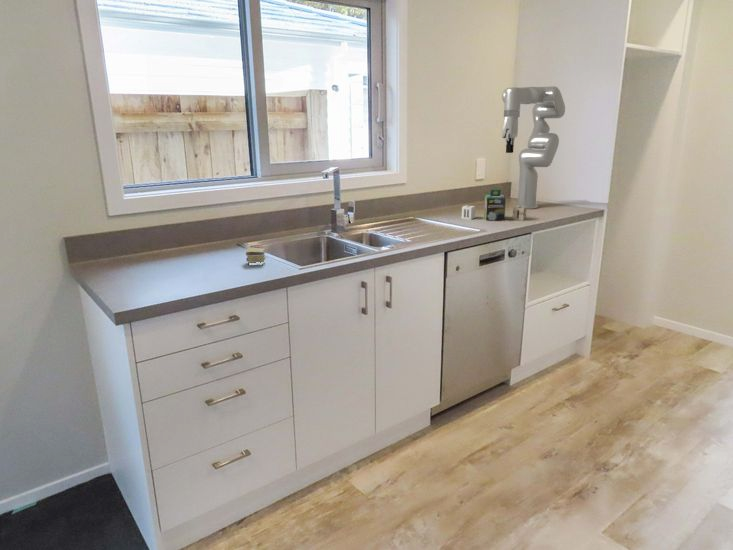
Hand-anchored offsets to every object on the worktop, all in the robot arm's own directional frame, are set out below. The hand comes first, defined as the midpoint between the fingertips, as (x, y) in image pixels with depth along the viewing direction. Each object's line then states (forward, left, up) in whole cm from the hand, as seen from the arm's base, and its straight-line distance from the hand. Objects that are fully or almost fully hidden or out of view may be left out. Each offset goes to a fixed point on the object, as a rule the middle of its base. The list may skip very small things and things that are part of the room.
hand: (509, 152), depth 259 cm
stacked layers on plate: (+134, -47, -32) cm, 145 cm away
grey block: (+19, -13, -31) cm, 39 cm away
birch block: (+10, +10, -31) cm, 34 cm away
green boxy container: (+15, -1, -31) cm, 35 cm away
